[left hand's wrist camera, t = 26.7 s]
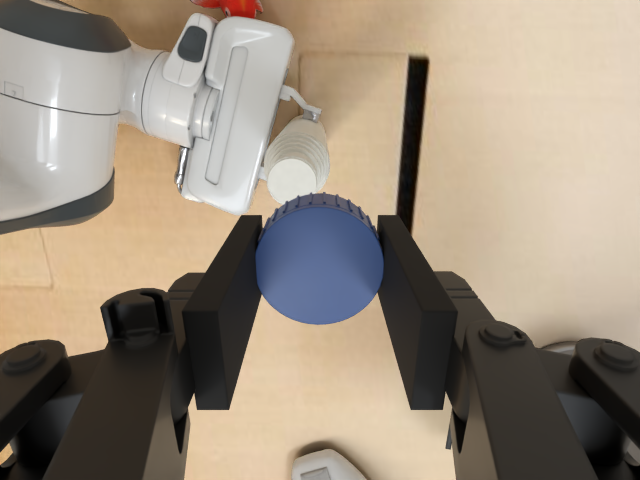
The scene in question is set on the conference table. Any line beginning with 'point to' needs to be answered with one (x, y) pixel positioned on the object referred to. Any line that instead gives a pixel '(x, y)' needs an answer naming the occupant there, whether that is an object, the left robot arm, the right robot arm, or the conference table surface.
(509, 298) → the conference table surface
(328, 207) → the cap
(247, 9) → the fish
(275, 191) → the bottle
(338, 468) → the projector
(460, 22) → the conference table surface
